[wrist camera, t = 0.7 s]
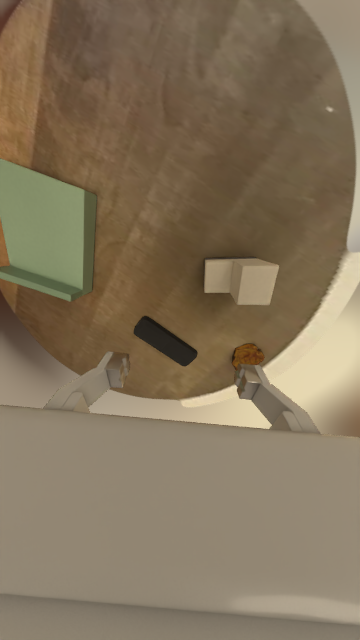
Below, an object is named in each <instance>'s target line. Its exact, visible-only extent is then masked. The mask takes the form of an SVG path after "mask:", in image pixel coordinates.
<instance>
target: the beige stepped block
mask: <svg viewBox="0 0 360 640" xmlns="http://www.w3.org/2000/svg"><path fill="white" fill-rule="evenodd" d="M278 268H279V265H276V264H273V263H270V262H266V261H263V260H260V259H257V258H256V257H225V258H205V264H204V292H205V293H230V294H231V295H232V297H233V298H234V300H235V302H236V303H237V305H269V304H270V300H271V296H272V292H273V288H274V284H275V280H276V276H277V272H278Z"/></svg>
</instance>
